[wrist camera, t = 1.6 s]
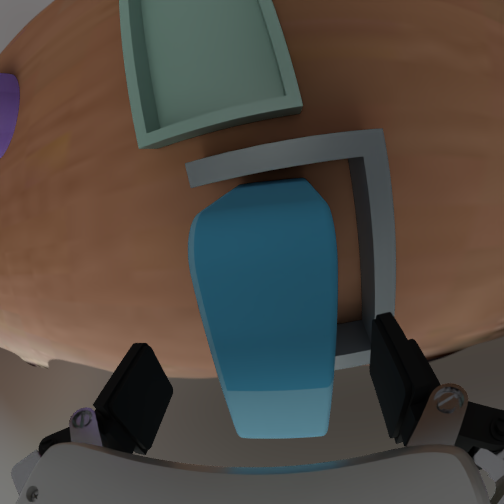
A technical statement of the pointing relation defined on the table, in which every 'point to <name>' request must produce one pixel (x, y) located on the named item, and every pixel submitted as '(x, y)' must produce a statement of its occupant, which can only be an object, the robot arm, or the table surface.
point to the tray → (204, 67)
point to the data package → (269, 304)
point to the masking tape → (8, 109)
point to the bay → (366, 205)
